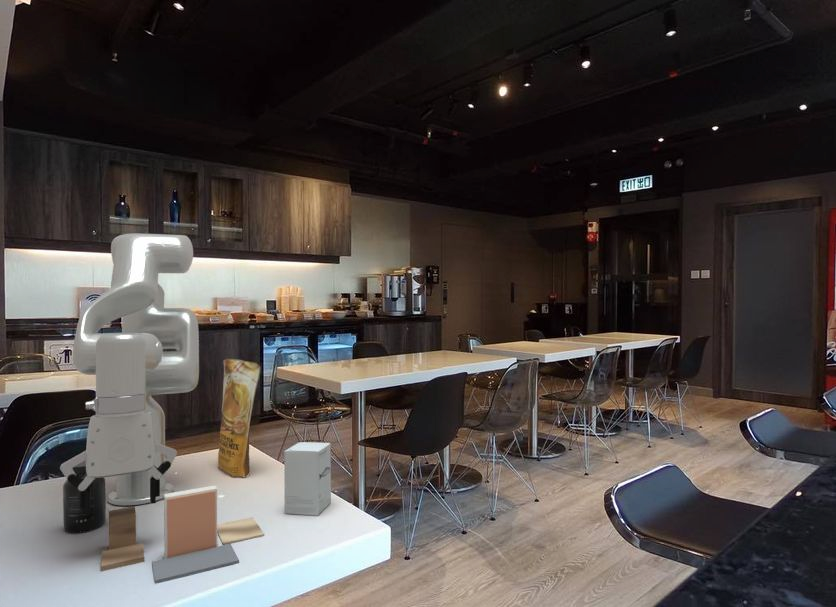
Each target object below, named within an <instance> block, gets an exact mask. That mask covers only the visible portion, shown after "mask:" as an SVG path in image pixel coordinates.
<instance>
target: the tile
mask: <svg viewBox="0 0 836 607" xmlns="http://www.w3.org/2000/svg"><path fill="white" fill-rule="evenodd" d="M163 503H164V504H163V511H164V512H163V513H164V514H163V517H164V518H163V519H164V526H163V528H164V529H163V530H164V531H163V532H164V533H163V534H164V541H163V542H164V545H163V546H164V559H165V558H170V557H174V556H179V555H183V554H188V553H192V552H196V551H201V550H205V549H210V548H214V547H219V545H218V544H219V543H218V533H217V525H218V488H217V486H216V485H210V486H205V487H197V488H192V489H187V490H180V491H173V492H172V493H168V494H164V498H163Z"/></svg>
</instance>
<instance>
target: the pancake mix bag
mask: <svg viewBox="0 0 836 607" xmlns="http://www.w3.org/2000/svg"><path fill="white" fill-rule="evenodd" d="M222 363H223V364H222V365H223V382H222V383H223V384H222V385H223V386H222V405H221V418H220V429H219V430H220V431H219V444H218V455H217V463H218V464H217V465H218V468H219V469H220V468H221V469H222V470H221V469H220V470H221V471H223V472H224V471H225V472H224V473H226V472H227V473H226V474H227V475H229V476H230V475H231V476H230V477H232V478H247V477H248V476H249V475H250V474H249V472H251V471H250V470H251V469H250V423H251V417H252V412H253V409H254V401H255V396H256V392H257V387H258V383H259V380H260V375H261V371H262V370H261V366H260V365H259V364H258V362H254V361H246V360H243V359H236V358H225V359H224V360H223V361H222ZM248 474H249V475H248ZM247 475H248V476H247ZM246 476H247V477H246Z"/></svg>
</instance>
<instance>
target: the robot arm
mask: <svg viewBox="0 0 836 607" xmlns="http://www.w3.org/2000/svg"><path fill="white" fill-rule="evenodd" d="M193 247H194V246H193V243H192V241H191V239H190V238H189V237H188V236H187V235H183V234H163V233H161V234H160V233H137V232H136V233H124V234H120V235H118V236H116V237H114V238H113V239H112V241H111V245H110V254H111V259H112V264H113V266H112V271H111V272H112V274H111V281H110V288H109V289H108V290H107V291H105V292H103V293H102V294H101V295H99V296H98V297H97V298H96V299H95V300H93V301H92V302H91V303H90V304H88V306H87V307H86V308H85V309H84V310H83V312H82V313H81V315H80V317H79V319H78V321H77V325H76V331H75V336H74V339H73V340H74V341H73V346H72V347H73V348H72V362H73V366H74V368H75V369H76V370H77V371H78V372H79V373H80V374H83V375H87V376H95V398H94V399H92V400H89V401H85V410H91V411H93V412H95V414H93V415H92V416H90V417H89V419H90V420H89V423H88V427H87V433H86V434H87V435H86V436H87V437H86V449H85V450H84V451H82V452H81V453H79V454H77V455H75V456H74V457H72V458H70V459H68V460H67V461H64V462H63V463H61V464H60V467H59V470H60V471H61V472H62V474H63V475H64V477H65V479H66V481H67V480H68V482H70V483H71V484H72V485H74V486H75V487H77V488H78V489H79V490H80V509H85V515H89V514H90V512H91V487H90V486H89V485H90V484H91V482H92V481H93V480H94V479H95V478H110V477H111V478H112V477H116V482H115V485H116V489H114V490H113V491H111V492H110V493H109V494H108V496H107V501H108V502H109V504H112V505H114V506H125V507H128V506H138V505H139V506H140V505H144V504H149V503H150V504H152V505H153V504H156V503H157V501H160V500H162V499H164V494H168V493H173V492H174V486H173V484H172V483H169V482H166V472H167V471H168V470H169V469H170V468H171V467H172V464H173V462H174V461H175V459H176V457H177V455H178V452H177V450H176V448H172V447H170V446H167V445H166V416H165V412H164V410H163V408H162V407H161V405H160V404H159V403H158V402H157V401H156V400H155V399H154V398H153V397H152V396H157V395H166V394H167V395H170V394H181V393H182V394H183V393H189V392H191V391H193V390H194V389H196V388H197V386H198V384H199V375H200V355H199V354H200V349H199V348H200V344H199V343H200V342H199V341H200V340H199V338H200V337H199V336H200V335H199V332H200V331H199V322H198V318H197V315H196V314H195V312H194V311H193V310H191V309H189V308H184V307H165V291H164V289H163V287H162V286H161V284H159V274H185V273H188V271H189V270H190V267H191V266H192V264H193V259H194V248H193ZM120 318H122V324H121V332H111V333H110V332H109V333H108V332H107V333H106V332H104V333H99V332H100V330H101V329H102V328H103V327H104V326H106V325H107V324H109V323H111V322H113V321H115V320H118V319H120ZM165 349H167V350H169V349H170V350H169V351H166V350H165ZM171 349H173V350H171ZM164 350H165V351H164ZM85 460H86V473H87V474H86V475H85V476H84V477H83V479H82V478H81V477H80V476H78V475H77V474H75V472H74V471H73V469H72V468H73V467H74V466H76V465H78V464H79V463H81V462H83V461H85Z"/></svg>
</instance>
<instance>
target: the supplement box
mask: <svg viewBox="0 0 836 607" xmlns="http://www.w3.org/2000/svg"><path fill="white" fill-rule="evenodd" d="M331 445H332V444H331V443H330V442H314V441H313V442H307V441H306V442H304V441H303V442H301V441H300V442H297V443H295V444H294V445H292V446H290V447H289V448H288V449H287V448H286V449H285V450H284V451H283V452H284V453H283V454H284V458H283V459H284V460H283V461H284V472H283V473H284V514H287V515H289V514H290V515H300V516H314V517H315V516H316V517H317V516H319V515H320V514H321V513H322V512H323V510H325V508H327V507H328V506H329V505H330V504H331V503H332V482H331V481H332V474H331V473H332V472H331V471H332V463H331V452H332V451H331Z"/></svg>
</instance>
